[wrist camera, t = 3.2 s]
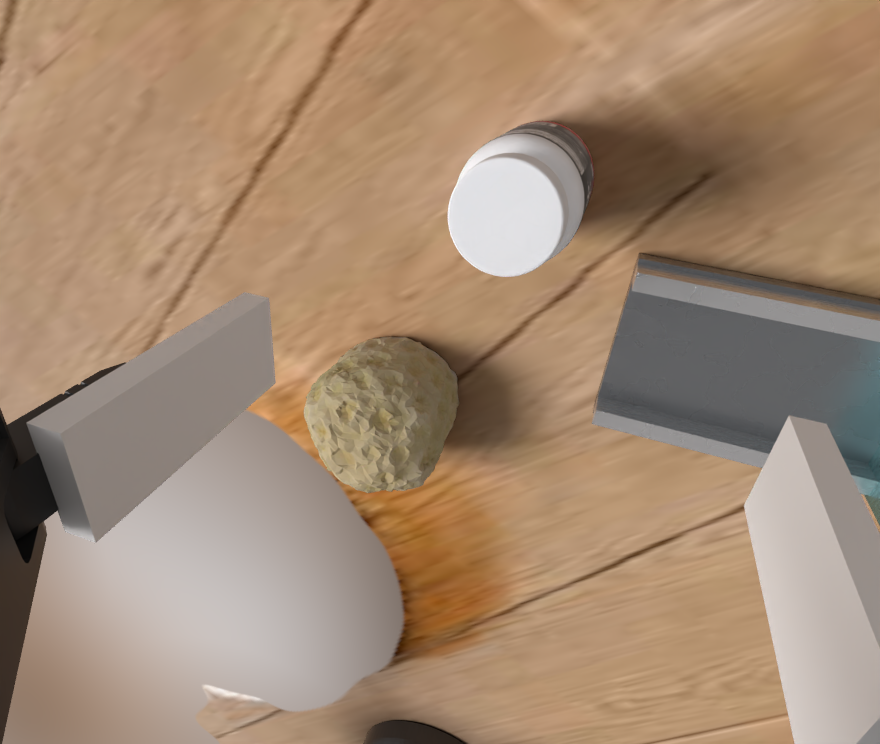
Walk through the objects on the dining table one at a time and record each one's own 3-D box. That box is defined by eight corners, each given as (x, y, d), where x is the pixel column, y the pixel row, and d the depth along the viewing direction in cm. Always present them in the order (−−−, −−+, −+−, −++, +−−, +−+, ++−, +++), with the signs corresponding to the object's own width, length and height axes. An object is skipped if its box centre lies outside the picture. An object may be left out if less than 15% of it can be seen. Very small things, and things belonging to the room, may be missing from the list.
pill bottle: (550, 250, 32) (517, 317, 24) (469, 189, 32) (408, 235, 24) (619, 163, 29) (609, 205, 21) (530, 95, 29) (484, 110, 20)
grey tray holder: (594, 404, 36) (586, 461, 31) (639, 253, 31) (638, 291, 26) (874, 475, 32) (916, 551, 27) (977, 318, 27) (1052, 376, 22)
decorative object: (359, 322, 43) (260, 416, 39) (422, 301, 34) (302, 419, 30) (434, 410, 45) (349, 506, 41) (510, 412, 37) (411, 533, 33)
